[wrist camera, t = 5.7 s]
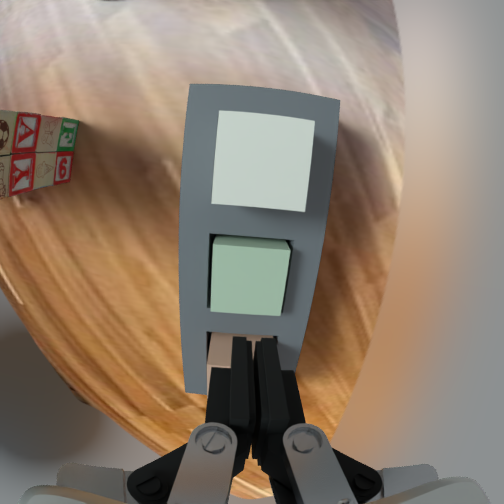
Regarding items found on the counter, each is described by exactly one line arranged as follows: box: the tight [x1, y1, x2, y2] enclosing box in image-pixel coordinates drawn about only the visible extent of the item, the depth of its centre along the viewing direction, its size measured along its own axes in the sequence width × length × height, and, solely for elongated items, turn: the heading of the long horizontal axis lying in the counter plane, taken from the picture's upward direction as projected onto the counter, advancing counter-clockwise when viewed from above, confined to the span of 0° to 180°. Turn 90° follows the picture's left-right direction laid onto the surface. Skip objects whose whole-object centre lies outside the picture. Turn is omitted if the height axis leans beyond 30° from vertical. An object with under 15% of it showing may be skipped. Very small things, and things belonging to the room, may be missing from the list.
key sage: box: [211, 234, 290, 316], centre depth 21 cm, size 5×5×5 cm
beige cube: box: [207, 332, 273, 400], centre depth 21 cm, size 5×5×5 cm
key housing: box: [179, 84, 340, 395], centre depth 21 cm, size 26×10×6 cm, turn 175°
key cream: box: [211, 110, 315, 212], centre depth 16 cm, size 5×5×5 cm
